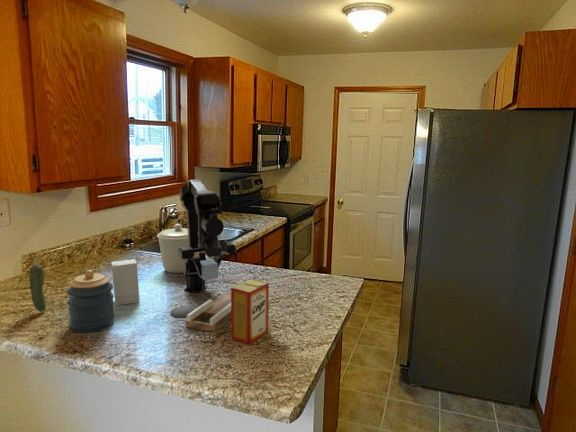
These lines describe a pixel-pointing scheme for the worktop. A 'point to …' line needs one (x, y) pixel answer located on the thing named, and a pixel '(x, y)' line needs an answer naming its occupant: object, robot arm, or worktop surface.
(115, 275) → the skincare box
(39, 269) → the vegetable
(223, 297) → the channel base plate
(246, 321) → the baking soda box
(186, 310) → the coaster
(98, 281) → the canister
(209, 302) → the channel walls
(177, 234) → the canister
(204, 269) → the block
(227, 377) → the worktop surface
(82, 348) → the worktop surface
